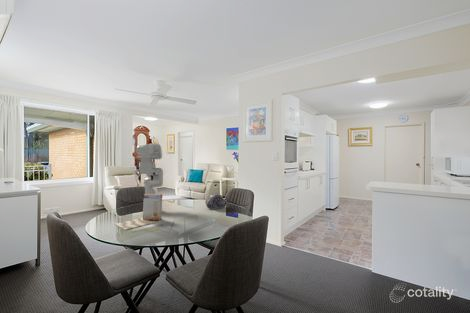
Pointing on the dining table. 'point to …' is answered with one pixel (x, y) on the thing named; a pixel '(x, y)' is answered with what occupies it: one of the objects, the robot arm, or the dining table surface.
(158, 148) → the robot arm
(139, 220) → the board
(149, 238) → the dining table surface
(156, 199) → the cracker box
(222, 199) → the toy elephant
